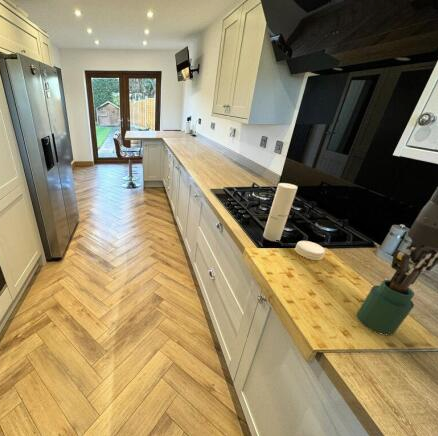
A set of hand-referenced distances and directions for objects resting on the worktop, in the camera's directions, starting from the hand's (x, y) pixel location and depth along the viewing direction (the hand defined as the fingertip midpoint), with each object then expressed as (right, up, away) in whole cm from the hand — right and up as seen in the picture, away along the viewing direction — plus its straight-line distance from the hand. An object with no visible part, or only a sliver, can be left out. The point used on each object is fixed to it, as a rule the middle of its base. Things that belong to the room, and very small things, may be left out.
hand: (401, 282), depth 60 cm
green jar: (-1, -13, +6) cm, 15 cm away
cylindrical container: (-8, +8, +48) cm, 50 cm away
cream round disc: (+2, +2, +37) cm, 37 cm away
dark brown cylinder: (0, -4, +2) cm, 4 cm away
